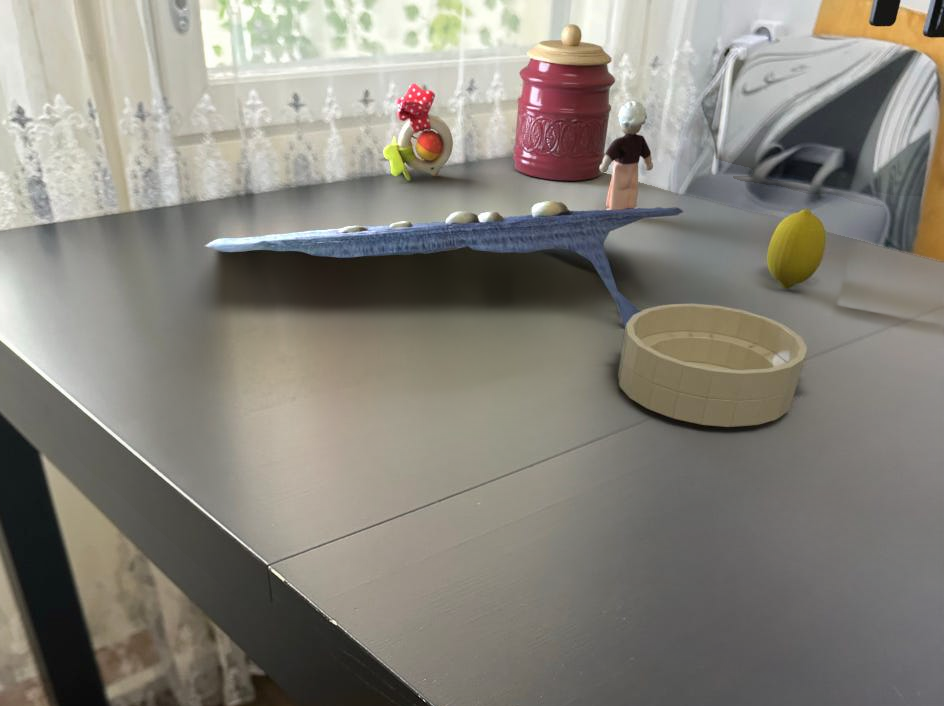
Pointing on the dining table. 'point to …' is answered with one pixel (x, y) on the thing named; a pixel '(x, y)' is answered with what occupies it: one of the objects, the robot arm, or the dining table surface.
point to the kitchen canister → (563, 109)
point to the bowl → (710, 364)
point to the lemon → (796, 248)
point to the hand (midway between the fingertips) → (907, 31)
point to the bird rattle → (419, 136)
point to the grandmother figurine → (627, 158)
